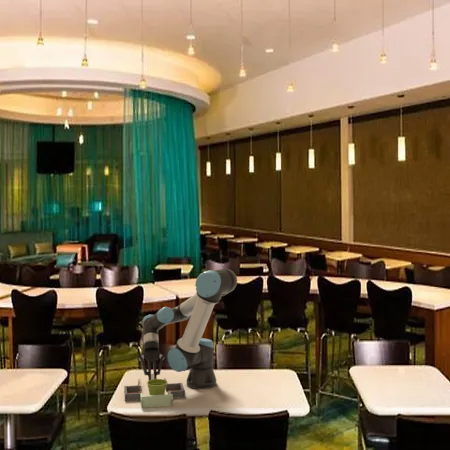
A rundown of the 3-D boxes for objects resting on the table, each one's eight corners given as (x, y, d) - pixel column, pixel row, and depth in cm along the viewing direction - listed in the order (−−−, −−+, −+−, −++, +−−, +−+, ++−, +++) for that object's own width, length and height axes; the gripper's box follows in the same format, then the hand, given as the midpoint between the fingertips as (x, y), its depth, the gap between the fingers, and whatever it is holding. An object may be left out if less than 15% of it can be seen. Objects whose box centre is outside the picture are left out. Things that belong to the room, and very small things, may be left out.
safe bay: (140, 399, 262) (140, 388, 261) (170, 397, 264) (170, 386, 264) (141, 407, 251) (141, 396, 251) (172, 405, 254) (172, 394, 253)
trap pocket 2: (166, 389, 275) (166, 383, 275) (181, 388, 277) (181, 382, 276) (169, 398, 263) (169, 391, 263) (185, 397, 265) (185, 390, 265)
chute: (137, 385, 281) (137, 379, 281) (165, 383, 284) (165, 378, 284) (138, 392, 271) (139, 385, 271) (167, 390, 274) (167, 384, 274)
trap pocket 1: (124, 392, 271) (124, 386, 271) (139, 391, 272) (139, 385, 272) (124, 400, 259) (125, 394, 259) (141, 399, 261) (141, 393, 261)
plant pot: (165, 404, 255) (165, 385, 255) (144, 403, 256) (144, 385, 255) (168, 397, 265) (168, 379, 264) (148, 396, 265) (149, 378, 265)
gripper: (163, 347, 284) (166, 390, 268) (137, 348, 281) (138, 392, 266) (164, 339, 278) (167, 383, 263) (138, 340, 276) (139, 384, 260)
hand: (152, 387), depth 264 cm, fingers closed
